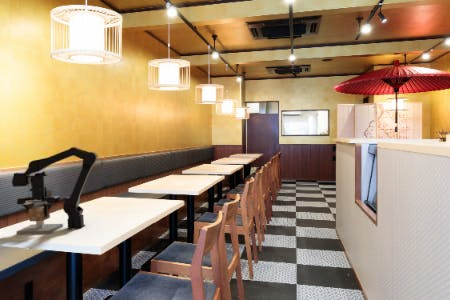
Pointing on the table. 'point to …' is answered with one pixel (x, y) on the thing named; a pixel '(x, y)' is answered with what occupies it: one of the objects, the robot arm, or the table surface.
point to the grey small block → (39, 224)
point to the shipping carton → (37, 214)
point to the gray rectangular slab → (40, 229)
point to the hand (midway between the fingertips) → (39, 217)
